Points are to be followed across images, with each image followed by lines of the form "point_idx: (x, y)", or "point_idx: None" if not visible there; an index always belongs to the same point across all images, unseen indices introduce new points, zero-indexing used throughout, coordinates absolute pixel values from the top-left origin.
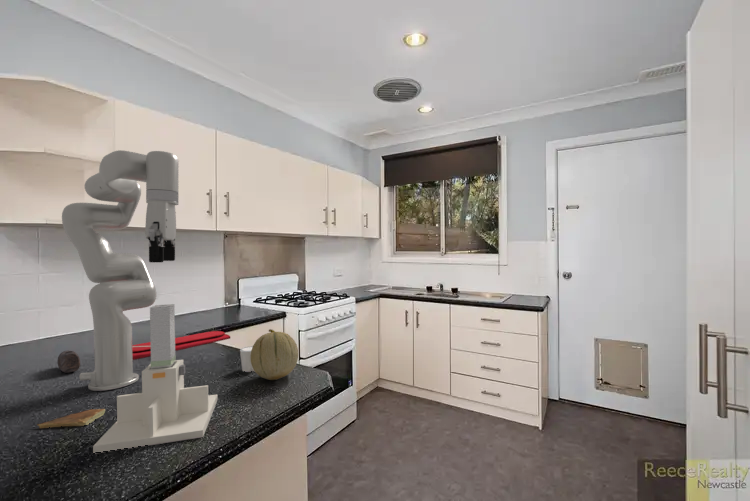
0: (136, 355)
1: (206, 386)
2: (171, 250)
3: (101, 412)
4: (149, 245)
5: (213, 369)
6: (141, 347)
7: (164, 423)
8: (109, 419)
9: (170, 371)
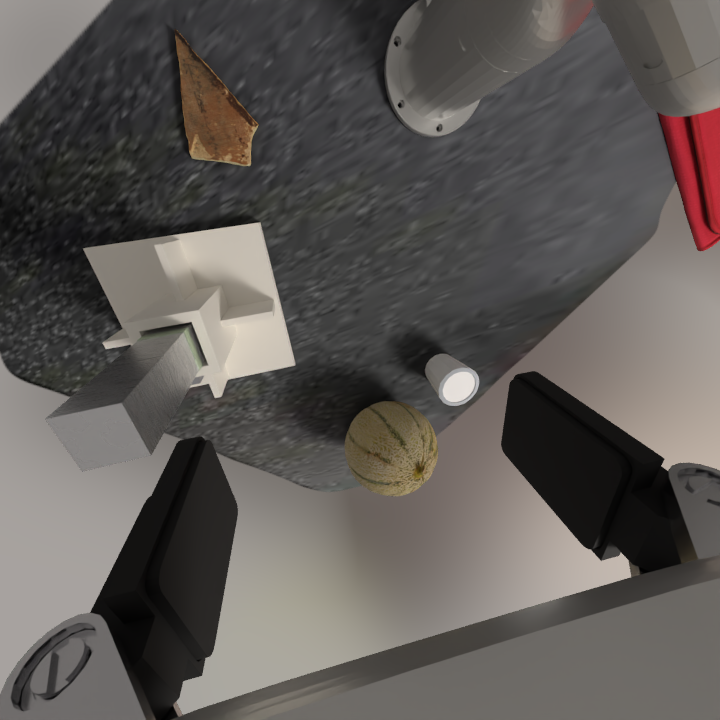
0: None
1: (214, 396)
2: (566, 506)
3: (238, 163)
4: (35, 657)
5: (461, 295)
6: None
7: None
8: (221, 194)
9: None
